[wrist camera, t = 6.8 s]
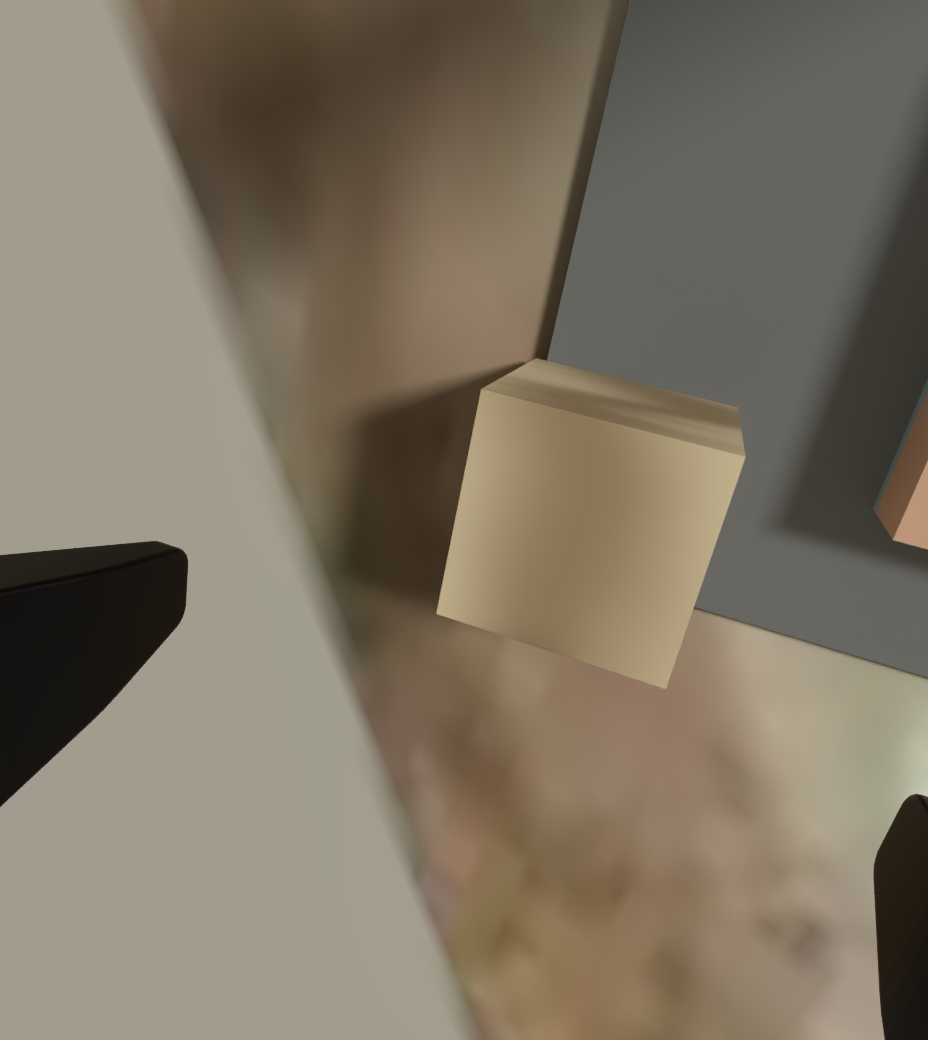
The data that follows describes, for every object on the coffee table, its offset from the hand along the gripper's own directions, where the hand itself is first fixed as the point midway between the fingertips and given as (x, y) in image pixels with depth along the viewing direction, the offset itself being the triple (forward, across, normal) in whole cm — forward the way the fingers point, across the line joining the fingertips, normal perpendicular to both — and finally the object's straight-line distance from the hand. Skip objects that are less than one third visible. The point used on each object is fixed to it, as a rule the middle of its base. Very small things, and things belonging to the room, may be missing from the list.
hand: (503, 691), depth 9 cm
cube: (+10, 0, 0) cm, 10 cm away
